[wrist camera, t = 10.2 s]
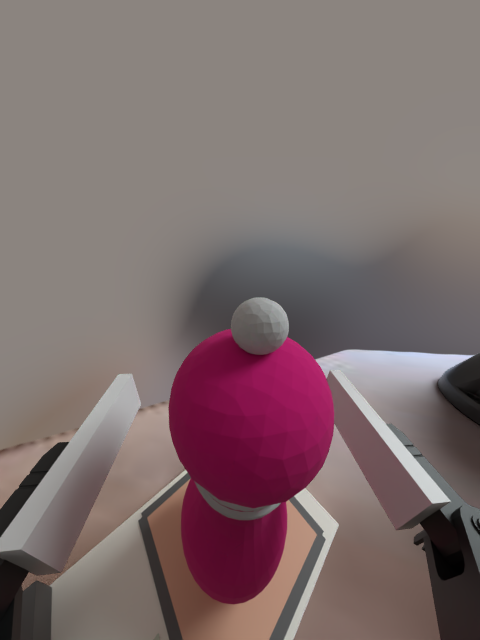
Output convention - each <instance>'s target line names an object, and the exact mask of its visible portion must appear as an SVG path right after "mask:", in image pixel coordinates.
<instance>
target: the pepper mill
mask: <svg viewBox="0 0 480 640" xmlns="http://www.w3.org/2000/svg"><path fill="white" fill-rule="evenodd" d="M288 330H289V323H288V319H287V315H286V313H285V312H284V310H283V309H282V307H281V306H280V305H278V304H277V303H276V302H274V301H271V300H269V299H267V298H252V299H250V300H247V301H245V302H243V303H242V304H241V305H240V306H239V307H238V308H237V309H236V311H235V312H234V314H233V317H232V321H231V329H227V330H224V331H222V332H219V333H216V334H215V335H213V336H211V337H209V338H207V339H206V340H204V341H203V342H201V343H200V344H199V345H198V346H196V347H195V348H194V349H193V350H192V351H191V352H190V354H189V355H188V356H187V357H186V359H185V360H184V361H183V363H182V365H181V367H180V368H179V370H178V372H177V374H176V377H175V379H174V382H173V386H172V389H171V395H170V402H169V427H170V432H171V437H172V441H173V444H174V447H175V449H176V452H177V454H178V457H179V460H180V461H181V463H182V464H183V466H184V467H185V469H186V471H187V472H188V474H189V475H190V477H191V479H190V481H189V484H188V486H187V489H186V492H185V496H184V499H183V505H182V512H181V538H182V545H183V551H184V556H185V559H186V562H187V565H188V568H189V570H190V572H191V574H192V576H193V578H194V580H195V581H196V583H197V584H198V585H199V586H200V588H201V589H202V590H203V591H204V592H205V593H206V594H207V595H209V596H210V597H211V598H212V599H215V600H217V601H219V602H221V603H225V604H233V605H234V604H240V603H245V602H247V601H249V600H251V599H253V598H255V597H256V596H257V595H258V594H259V593H261V592H262V591H263V590H264V589H265V587H266V586H267V585H268V584H269V582H270V581H271V580H272V578H273V576H274V574H275V572H276V571H277V568H278V566H279V563H280V560H281V557H282V554H283V551H284V546H285V540H286V534H287V505H286V501H288V500H289V499H291V498H292V497H293V496H295V495H296V494H298V493H299V492H300V491H302V490H303V489H304V488H306V487H307V485H308V484H309V483H310V482H311V481H312V480H313V479H314V478H315V476H316V475H317V473H318V472H319V470H320V469H321V468H322V466H323V464H324V462H325V459H326V457H327V454H328V452H329V448H330V444H331V441H332V437H333V430H334V404H333V399H332V393H331V390H330V387H329V385H328V382H327V380H326V377H325V375H324V373H323V371H322V369H321V367H320V366H319V365H318V363H317V362H316V361H315V359H314V358H313V357H312V355H310V354H309V353H308V352H307V351H306V350H305V349H303V348H302V347H301V346H300V345H299V344H298V343H297V342H295V341H293V340H291V339H289V338H288V337H287V334H288Z"/></svg>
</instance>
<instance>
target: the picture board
mask: <svg viewBox="0 0 480 640" xmlns="http://www.w3.org/2000/svg"><path fill="white" fill-rule="evenodd" d="M190 479H191V477H190V475H189V474H188V472H187V471H186V470H185V471H183V472H182V473H181V474H180V475H179V476H178V477H176V478H175V479H174V480H173V481H172V482H171V483H169V484H168V485H167V486H166V487H165V488H163V489H162V490H161V491H160V492H159V493H158V494H156V495H155V496H154V497H153V498H152V499H151V500H149V501H148V502H147V503H146V504H145V505H144V506H142V507H141V508H140V509H139V510H138V511H136V512H135V513H134V514H133V515H132V516H131V517H129V518H128V519H127V520H126V521H125V522H124V523H122V524H121V525H120V526H119V527H118V528H116V529H115V530H114V531H113V532H112V533H111V534H109V535H108V536H107V537H106V538H105V539H104V540H102V541H101V542H100V543H99V544H98V545H97V546H95V547H94V548H93V549H92V550H91V551H89V552H88V553H87V554H86V555H85V556H84V557H82V558H81V559H80V560H79V561H78V562H77V563H75V564H74V565H73V566H72V567H71V568H69V569H68V570H67V571H66V572H65V573H64V574H62V575H61V576H60V577H59V578H58V579H57V580H55V581H54V582H53V583H52V584H51V585H49V586H48V585H46V584H44V583H41V582H39V581H37V580H36V581H35V582H34V583H33V584H31V585H30V586H29V587H28V588H26V589H25V590H24V591H23V596H22V615H21V635H20V640H293V639H294V637H295V634H296V632H297V629H298V627H299V624H300V622H301V619H302V616H303V614H304V611H305V609H306V606H307V604H308V601H309V599H310V596H311V594H312V591H313V589H314V586H315V584H316V581H317V579H318V576H319V573H320V571H321V568H322V566H323V563H324V561H325V558H326V556H327V553H328V551H329V548H330V546H331V543H332V541H333V538H334V536H335V533H336V530H337V528H338V525H339V524H338V523H337V522H336V521H335V520H334V519H333V518H332V517H331V516H330V514H329V513H328V512H327V511H326V510H325V509H324V508H323V507H322V506H321V505H320V503H319V502H318V501H317V500H316V499H315V498H314V497H313V496H312V495H311V494H310V493H309V491H308V490H307V489H306V488H304V489H303V490H302V491H300V492H299V493H298V494H296V495H295V496H293V497H292V498H291V499H289V500H288V501H286V505H287V534H286V540H285V546H284V551H283V554H282V557H281V560H280V563H279V566H278V568H277V571H276V572H275V574H274V576H273V578H272V580H271V581H270V582H269V584H268V585H267V586H266V587H265V589H264V590H263V591H262V592H261V593H259V594H258V595H257V596H256V597H255V598H253V599H251V600H249V601H247V602H245V603H240V604H234V605H233V604H225V603H221V602H219V601H217V600H215V599H212V598H211V597H210V596H209V595H207V594H206V593H205V592H204V591H203V590H202V589H201V588H200V586H199V585H198V584H197V583H196V581H195V580H194V578H193V576H192V574H191V572H190V570H189V568H188V565H187V562H186V559H185V556H184V551H183V545H182V538H181V512H182V505H183V499H184V496H185V492H186V489H187V486H188V484H189V481H190Z"/></svg>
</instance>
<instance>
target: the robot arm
mask: <svg viewBox="0 0 480 640" xmlns="http://www.w3.org/2000/svg"><path fill="white" fill-rule="evenodd" d="M326 380H327V382H328V385H329V387H330V390H331V393H332V399H333V404H334V424H335V425H336V427H337V429H338V431H339V432H340V434H341V436H342V437H343V439H344V441H345V443H346V444H347V446H348V448H349V450H350V451H351V453H352V455H353V456H354V458H355V460H356V462H357V463H358V465H359V467H360V469H361V470H362V472H363V474H364V476H365V477H366V479H367V481H368V482H369V484H370V486H371V488H372V489H373V491H374V493H375V495H376V496H377V498H378V500H379V501H380V503H381V505H382V507H383V508H384V510H385V512H386V514H387V515H388V517H389V519H390V521H391V522H392V524H393V526H394V527H395V529H396V530H402V529H410V528H413V527H415V526H416V525H418V524H419V523H420V524H421V525H422V527H423V528H424V530H423V531H421V532H420V533H418V534H417V535H416V536H415V537H414V544H415V545H419V544H421V543H423V542H424V545H423V547H422V550H424V551H425V552H426V557H427V563H428V569H429V575H430V580H431V586H432V592H433V598H434V603H435V609H436V615H437V621H438V627H439V632H440V638H441V640H480V509H478V508H475V507H473V506H471V505H468V504H467V503H466V502H465V501H464V500H463V499H462V498H461V497H460V496H459V495H458V494H457V493H456V492H455V491H454V490H453V489H452V487H451V486H450V485H449V484H448V483H447V482H446V481H445V480H444V478H443V477H442V476H441V475H440V474H439V473H438V472H437V471H436V469H435V468H434V467H433V466H432V465H431V464H430V463H429V462H428V460H427V459H426V458H425V457H423V456H422V454H421V453H420V451H419V450H418V449H417V448H416V447H414V446H413V444H412V442H411V441H410V440H409V439H408V438H407V437H406V436H405V435H404V433H402V432H401V431H400V430H399V429H397V428H396V427H395V426H394V425H392V424H385V422H384V421H383V420H382V419H381V418H380V416H379V415H378V414H377V413H376V412H375V411H374V409H373V408H372V407H371V406H370V405H369V403H368V402H367V401H366V400H365V399H364V397H363V396H362V395H361V394H360V393H359V392H358V390H357V389H356V388H355V387H354V386H353V384H352V383H351V382H350V381H349V380H348V378H347V377H346V376H345V375H344V374H343V373H342V371H341V370H330V372H329V374H328V377H327V379H326ZM438 386H439V389H440V390H441V392H442V393H443V395H444V396H445V397H446V398H447V399H448V400H449V401H450V402H451V403H452V404H453V405H454V406H455V407H456V408H457V409H459V410H460V411H461V412H462V413H464V414H465V415H466V416H468V417H469V418H471V419H472V420H473V421H475V422H476V423H478V424H479V425H480V353H478V354H476V355H475V356H473V357H471V358H469V359H467V360H465V361H463V362H461V363H459V364H458V365H456V366H454V367H452V368H450V369H448V370H447V371H446V372H445V373H444V374H443V375H442V377H441V378H440V379H439V381H438ZM140 405H141V403H140V399H139V396H138V392H137V389H136V386H135V382H134V379H133V376H132V374H118V376H117V377H116V379H115V380H114V381H113V383H112V384H111V386H110V387H109V388H108V390H107V391H106V392H105V394H104V395H103V397H102V398H101V399H100V401H99V402H98V403H97V405H96V406H95V408H94V409H93V411H92V412H91V413H90V414H89V416H88V417H87V419H86V420H85V422H84V423H83V424H82V426H81V427H80V428H79V430H78V431H77V432H76V434H75V435H74V437H73V438H72V439H71V441H70V442H60V443H57V444H56V445H55V446H54V447H53V448H51V449H50V450H49V451H48V452H47V453H46V454H45V455H43V456H42V458H41V459H40V460H39V461H38V463H37V464H36V465H35V466H34V468H33V469H32V470H31V471H30V474H29V475H27V476H26V478H25V479H24V480H23V481H22V483H21V484H20V485H19V488H18V489H16V490H15V491H14V493H13V494H12V495H11V496H10V498H9V499H8V500H7V502H6V503H5V504H4V505H3V507H2V508H1V509H0V640H20V635H21V615H22V596H23V590H22V586H21V584H22V583H23V581H24V579H25V577H26V576H27V574H28V572H30V573H33V574H35V575H37V576H38V575H46V574H53V573H61V572H62V570H63V568H64V566H65V564H66V562H67V560H68V558H69V555H70V553H71V551H72V549H73V547H74V545H75V543H76V541H77V538H78V536H79V534H80V532H81V530H82V528H83V526H84V524H85V522H86V519H87V517H88V515H89V513H90V511H91V509H92V507H93V505H94V502H95V500H96V498H97V496H98V494H99V492H100V490H101V488H102V485H103V483H104V481H105V479H106V477H107V475H108V473H109V471H110V469H111V466H112V464H113V462H114V460H115V458H116V456H117V454H118V452H119V449H120V447H121V445H122V443H123V441H124V439H125V437H126V435H127V432H128V430H129V428H130V426H131V424H132V422H133V420H134V418H135V416H136V413H137V411H138V409H139V407H140Z"/></svg>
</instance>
